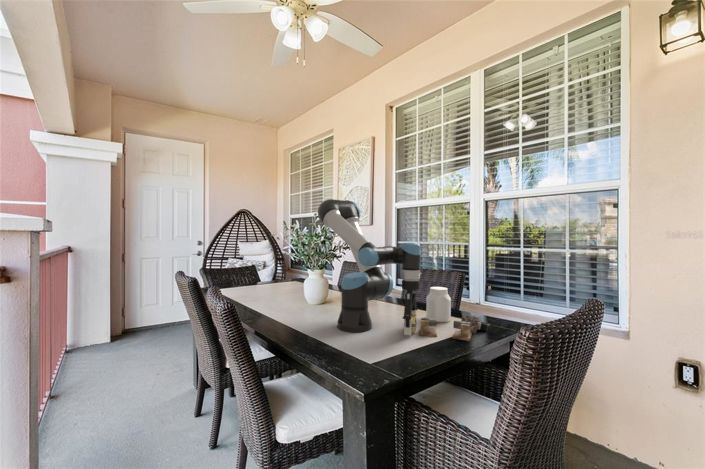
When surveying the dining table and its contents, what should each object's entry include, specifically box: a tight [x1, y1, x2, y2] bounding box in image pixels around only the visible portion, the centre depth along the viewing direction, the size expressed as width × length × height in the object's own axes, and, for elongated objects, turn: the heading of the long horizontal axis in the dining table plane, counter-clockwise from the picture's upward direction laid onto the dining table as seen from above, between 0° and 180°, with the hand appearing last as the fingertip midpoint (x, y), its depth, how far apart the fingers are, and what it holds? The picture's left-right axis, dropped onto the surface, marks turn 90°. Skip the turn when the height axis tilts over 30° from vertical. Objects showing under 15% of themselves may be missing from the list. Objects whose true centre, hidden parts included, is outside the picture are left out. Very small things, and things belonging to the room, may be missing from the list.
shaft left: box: [419, 317, 438, 337], centre depth 136 cm, size 6×8×6 cm
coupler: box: [406, 313, 418, 335], centre depth 138 cm, size 5×5×7 cm
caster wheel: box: [461, 313, 489, 334], centre depth 141 cm, size 7×11×10 cm
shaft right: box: [451, 320, 473, 342], centre depth 132 cm, size 6×8×6 cm
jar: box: [425, 286, 452, 323], centre depth 157 cm, size 12×10×15 cm
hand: (410, 330), depth 138 cm, fingers open, 13 cm apart
